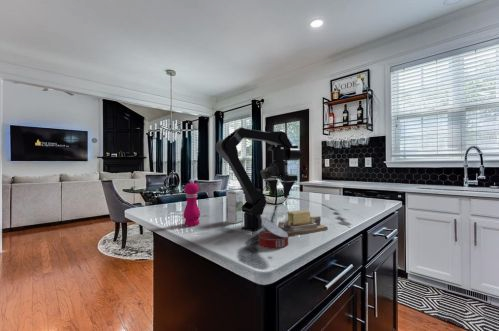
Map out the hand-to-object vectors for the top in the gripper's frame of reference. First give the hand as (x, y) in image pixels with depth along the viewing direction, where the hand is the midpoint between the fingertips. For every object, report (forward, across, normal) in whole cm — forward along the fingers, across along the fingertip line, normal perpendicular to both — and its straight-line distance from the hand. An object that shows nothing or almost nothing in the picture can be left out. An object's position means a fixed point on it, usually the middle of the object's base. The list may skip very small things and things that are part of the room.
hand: (279, 196), depth 106 cm
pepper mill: (+12, -19, -33) cm, 40 cm away
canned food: (+12, +20, -16) cm, 28 cm away
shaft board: (+12, +12, +1) cm, 17 cm away
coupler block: (+11, +12, +1) cm, 16 cm away
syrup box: (+12, -14, -15) cm, 24 cm away
